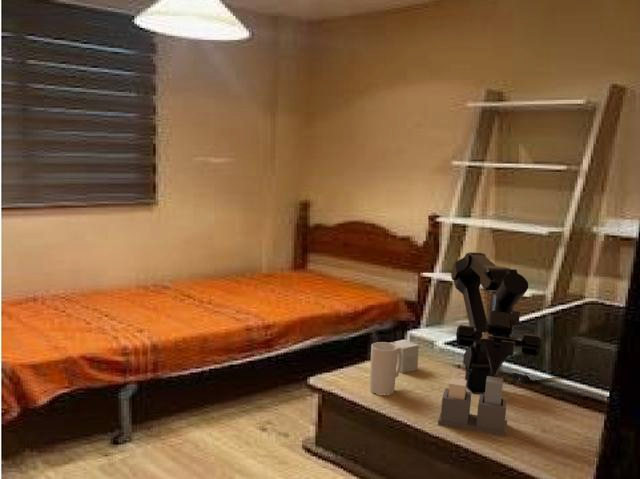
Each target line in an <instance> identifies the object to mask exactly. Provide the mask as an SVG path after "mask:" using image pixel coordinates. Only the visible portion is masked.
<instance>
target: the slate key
mask: <svg viewBox="0 0 640 479" xmlns="http://www.w3.org/2000/svg"><path fill="white" fill-rule="evenodd" d="M503 386H504V378H502V377H497V376H494V377H492V376H487V379H486V388H485V393H484V394H485V399H484V403H486V404H492V405H499V406H501V398H502V397H503V396H502V395H503Z"/></svg>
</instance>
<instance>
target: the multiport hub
mask: <svg viewBox="0 0 640 479" xmlns="http://www.w3.org/2000/svg"><path fill="white" fill-rule="evenodd" d="M558 369H559V370H562V369H560V368H558ZM512 379H514V380H516V381H518V382H520V383H522V384H527V383H534V382H533V381H532V380H530V378H529V377H528V376H527V375H522V374H517V373H513V372H512Z"/></svg>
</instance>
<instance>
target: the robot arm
mask: <svg viewBox="0 0 640 479" xmlns="http://www.w3.org/2000/svg"><path fill="white" fill-rule="evenodd" d="M450 273H451V275H450V276H451V280H452V281H453V283H454V287H455V289H456V290H457V291H458V292H459V293H461V294H462V296H463V297H462V298H463V301H464V306H465V310H466V314H467V315H466V316H467V319H468V324H469V325H463V324H460V325H459V326H457V327H456V334H455V335H456V337H455V339H456V345H458V346H459V347H466V350H465V352H463V364H464V365H465V366H466V368H467V369H466V370H465V373H464V374H465V377H464V378H465V379H464V380H467V385H466V389H468V390H469V392H471V394H485V388H486V379H487V376H492V377H495V376H497V374H498V373H499V371H500V370H501V367H502V365H503V363H504V362H505V361H506V360H507V359H508V357H512V356H514V350H515V347H517V348H521V352H522V354H523V355H524V356H529V357H539V356H540V355H541V354H540V353H541V347H542V337H541V336H540V335H539V334H530V333H523V335H522V338H517V337H512V334H513V333H512V332H513V327H519V326H520V325H519V324H520V316H521V312H520V311H517V310H515V305H518V303H520V301H521V299H522V298H523V296H525V294H526V292H527V291H528V289H529V281H528V280H527V279H526V278H525V277H524V276H523V275H521V274H520V273H518V270H517V269H514V268H512V269H511V268H510V267H506V266H499V265H496V264H495V263H494V262H493V261H492V260H490V259H489V258H488V257H487V256H486V254H485V253H482V252H472V251H471V252H468V253H465V255H464V257H462V258H460V259H459V260H457V261H455V262H454V264H453V266H452V269H451V272H450ZM480 287H482V288H483V290H484V291H486V292H487V291H488V292H492V293H491V294H490V297H489V306H488V314H487V315H486V310H485V306H484V303H483V299H482V295H481V291H480Z"/></svg>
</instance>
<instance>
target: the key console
mask: <svg viewBox="0 0 640 479" xmlns="http://www.w3.org/2000/svg"><path fill="white" fill-rule="evenodd" d="M448 394H449V387H445V388H444V391H443V395H442V398H441V410H440V413H439V417H438V419H437V420H438V421H437V425H439V426H446V427H450V428H456V429H463V430H468V431H474V432H479V433H484V434H489V435H495V436H501V437H507V429H508V427H507V426H508V420H507V419H506V415H507V414H506V413H507V404H508V403H507V402H508V397H504V396H502V398H501V406H499V405H492V404H486V403H484V399H485V393H479V399H478V404H477V414H471V412H470V411H471V401H472V392H471V391H467V390H466V397H465V400H462V399H456V398H450V397H448Z"/></svg>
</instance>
